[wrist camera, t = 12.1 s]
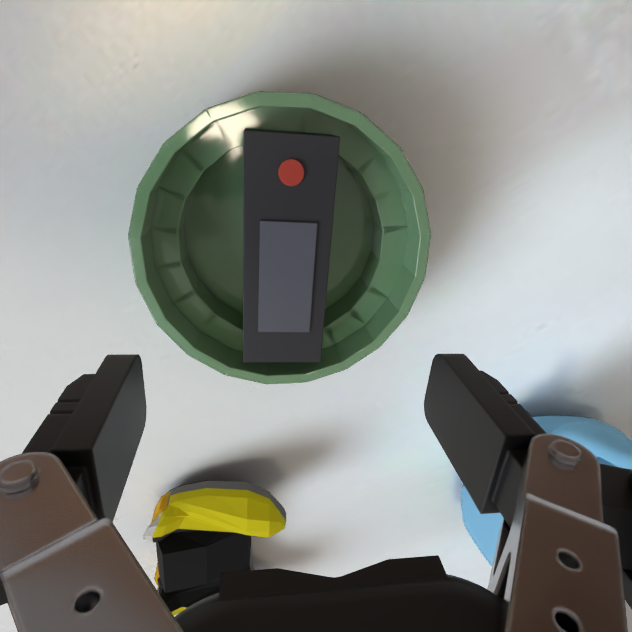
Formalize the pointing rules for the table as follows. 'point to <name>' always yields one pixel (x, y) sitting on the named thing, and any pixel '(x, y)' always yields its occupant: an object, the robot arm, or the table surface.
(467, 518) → the teapot
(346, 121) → the bowl
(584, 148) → the table surface
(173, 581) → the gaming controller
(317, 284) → the remote
